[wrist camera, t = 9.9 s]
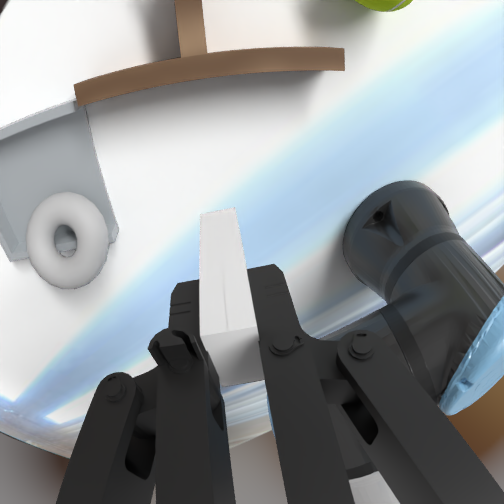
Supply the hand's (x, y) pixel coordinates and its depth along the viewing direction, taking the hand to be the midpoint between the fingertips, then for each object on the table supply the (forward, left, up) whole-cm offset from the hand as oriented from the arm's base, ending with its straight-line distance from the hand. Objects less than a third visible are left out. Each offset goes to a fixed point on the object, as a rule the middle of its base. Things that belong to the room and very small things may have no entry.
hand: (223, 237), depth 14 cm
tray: (-1, +19, -18) cm, 26 cm away
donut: (-3, +14, -16) cm, 21 cm away
